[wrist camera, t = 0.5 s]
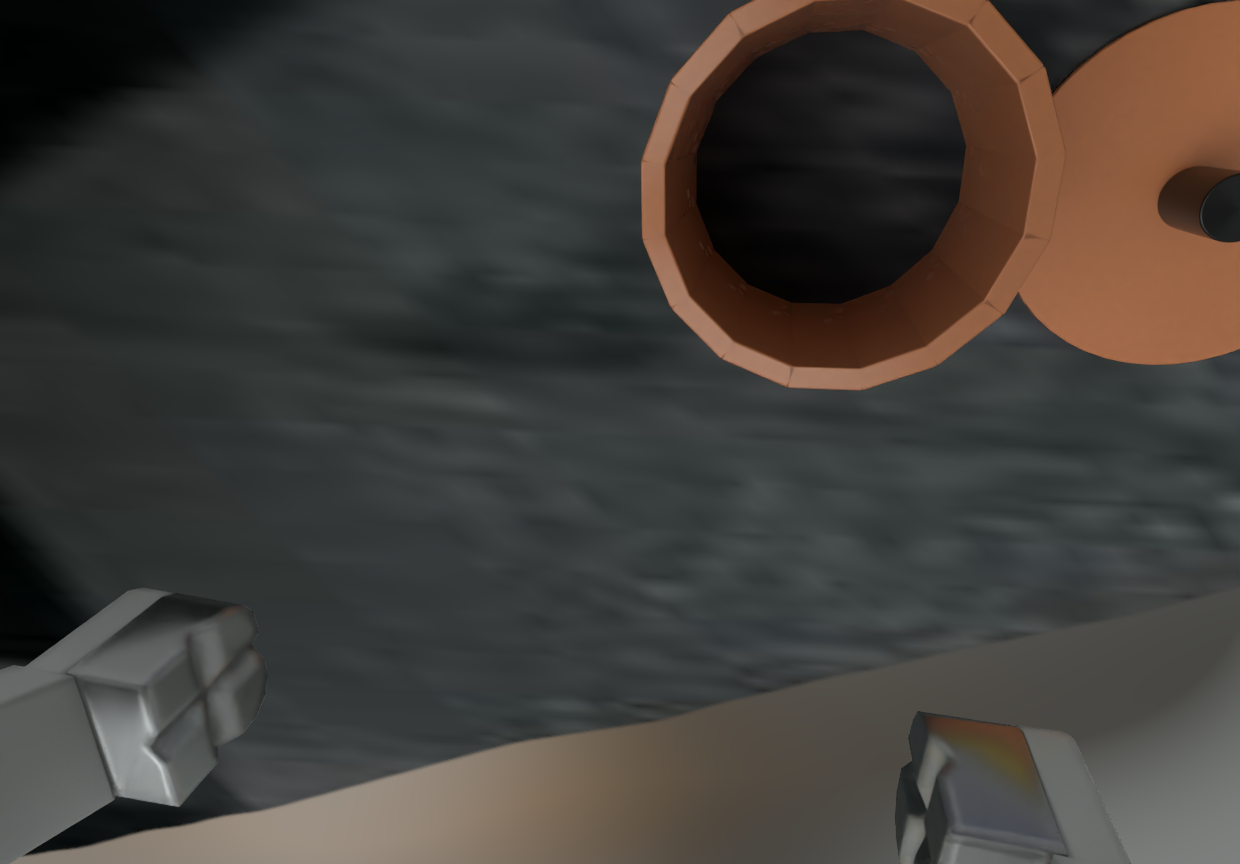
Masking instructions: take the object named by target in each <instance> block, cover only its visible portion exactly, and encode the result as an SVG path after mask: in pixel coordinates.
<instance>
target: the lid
mask: <svg viewBox="0 0 1240 864" xmlns="http://www.w3.org/2000/svg"><path fill="white" fill-rule="evenodd" d="M1052 96H1053V100H1054V104H1055V108H1056V112H1057V116H1058V120H1059V124H1060V128H1061V132H1062V137H1063V141H1064V145H1065V149H1066V152H1065V153H1066V158H1065V163H1064V169H1063V174H1062V180H1061V185H1060V191H1059V196H1058V202H1057V207H1056V213H1055V218H1054V224H1053V229H1052V235H1051V239H1050V242H1049V243H1048V245H1047V247H1046V248H1045V250H1044V251H1043V253H1042V255H1041V256H1040V258H1039V259H1038V261H1037V263H1036V264H1035V266H1034V267H1033V269H1032V271H1031V272H1030V274H1029V275H1028V277H1027V279H1026V280H1025V282H1024V283H1023V285H1022V287H1021V288H1020V290H1019V291H1018V294H1019V296H1020V298H1021V299H1022V301H1023V302H1024V303H1025V305H1026V306H1027V307H1028V309H1029V310H1030V311H1031V312H1032V314H1033V315H1034V316H1035V317H1036V318H1037V319H1038V320H1039V321H1040V322H1041V323H1043V324H1044V325H1045V326H1046V327H1047V328H1048V329H1049V330H1050V331H1052V332H1053V333H1055V334H1056V335H1057V336H1059V337H1060V338H1062V339H1063V340H1065V341H1066V342H1068V343H1070V344H1072V345H1074V346H1076V347H1078V348H1080V349H1082V350H1084V351H1086V352H1089V353H1092V354H1095V355H1097V356H1100V357H1103V358H1107V359H1111V360H1116V361H1121V362H1126V363H1135V364H1147V365H1159V364H1178V363H1185V362H1193V361H1199V360H1203V359H1207V358H1212V357H1216V356H1220V355H1224V354H1226V353H1229V352H1232V351H1235V350H1238V349H1240V0H1233V1H1225V2H1216V3H1209V4H1205V5H1201V6H1197V7H1193V8H1188V9H1184V10H1180V11H1177V12H1174V13H1172V14H1169V15H1166V16H1163V17H1161V18H1158V19H1155V20H1152V21H1150V22H1148V23H1146V24H1144V25H1142V26H1140V27H1138V28H1136V29H1134V30H1132V31H1130V32H1128V33H1126V34H1124V35H1123V36H1121V37H1119V38H1118V39H1116V40H1115V41H1113V42H1112V43H1110V44H1108V45H1107V46H1105V47H1104V48H1102V49H1101V50H1099V51H1098V52H1097V53H1095V54H1094V55H1093V56H1092V57H1090V58H1089V59H1088V60H1087V61H1085V62H1084V63H1083V64H1082V65H1080V66H1079V67H1078V68H1077V69H1076V70H1075V71H1074V72H1073V73H1072V74H1071V75H1070V76H1069V77H1068V78H1067V79H1066V80H1065V81H1064V82H1063V83H1062V84H1061V85H1060V86H1059V87H1058V88H1057V89H1056V90H1055V91H1054V93H1053V94H1052Z"/></svg>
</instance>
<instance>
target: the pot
mask: <svg viewBox="0 0 1240 864" xmlns="http://www.w3.org/2000/svg"><path fill="white" fill-rule="evenodd" d="M857 30H865V31H867V32H870V33H872V34H874V35H877V36H879V37H882V38H884V39H887V40H889V41H891V42H894V43H896V44H899V45H901V46H904V47H906V48H908V49H911V50H913V51H915V52H916V53H917V54H918V55H919V56H920V58H921V59H922V60H923V61H924V62H925V63H926V64H927V65H928V67H929V68H930V69H931V70H932V71H933V72H934V73H935V75H936V76H937V77H938V78H939V79H940V80H941V81H942V83H943V84H944V85H945V86H946V87H947V88H948V89H949V91H950V92H951V94H952V97H953V101H954V104H955V108H956V111H957V115H958V118H959V122H960V125H961V129H962V133H963V136H964V140H965V143H966V152H965V159H964V166H963V174H962V181H961V189H960V196H959V202H958V204H957V206H956V207H955V209H954V211H953V213H952V215H951V216H950V218H949V220H948V222H947V224H946V225H945V227H944V229H943V231H942V233H941V234H940V236H939V238H938V240H937V242H936V243H935V245H934V247H933V249H932V251H930V252H929V253H928V254H927V255H926V256H924V257H923V258H922V259H921V260H920V261H919V262H917V263H916V264H915V265H914V266H913V267H912V268H910V269H909V270H908V271H907V272H906V273H905V274H903V275H902V276H901V277H900V278H899V279H898V280H896V281H895V282H894V283H893V284H892V285H891V286H888V287H886V288H883V289H880V290H877V291H875V292H872V293H869V294H867V295H864V296H861V297H858V298H856V299H853V300H850V301H847V302H845V303H842V304H825V303H791V302H788V301H786V300H784V299H781V298H779V297H777V296H774V295H772V294H770V293H767V292H765V291H762V290H760V289H758V288H755V287H753V286H751V285H748V284H747V283H746V282H745V281H744V280H743V279H742V278H741V277H740V276H739V275H738V274H737V273H736V272H735V271H734V270H733V269H732V268H731V266H730V265H729V264H728V263H727V262H726V261H725V260H724V259H723V258H722V257H721V256H720V255H719V254H718V253H717V252H716V251H715V250H714V248H713V245H712V242H711V240H710V237H709V235H708V232H707V230H706V227H705V225H704V222H703V219H702V217H701V214H700V212H699V209H698V207H697V204H696V191H697V150H698V147H699V145H700V142H701V140H702V137H703V135H704V132H705V130H706V127H707V125H708V122H709V120H710V117H711V115H712V112H713V110H714V107H715V104H716V102H717V100H718V99H719V98H720V97H721V96H722V95H723V93H724V92H725V91H726V90H727V89H728V88H729V87H730V86H731V85H732V84H733V82H734V81H735V80H736V79H737V78H738V77H739V76H740V75H741V74H742V73H743V72H744V70H745V69H746V68H747V67H748V66H749V65H750V64H751V63H752V62H753V61H754V59H755V58H757V57H759V56H761V55H763V54H765V53H767V52H769V51H771V50H773V49H776V48H778V47H780V46H782V45H784V44H786V43H788V42H790V41H792V40H794V39H796V38H798V37H800V36H802V35H804V34H806V33H816V32H836V31H857ZM1065 152H1066V149H1065V145H1064V141H1063V137H1062V132H1061V128H1060V124H1059V120H1058V116H1057V112H1056V108H1055V104H1054V100H1053V96H1052V92H1051V88H1050V84H1049V80H1048V75H1047V71H1046V68H1045V67H1043V63H1042V62H1041V61H1040V60H1039V59H1038V57H1037V56H1036V55H1035V54H1034V53H1033V51H1032V50H1031V49H1030V48H1029V47H1028V46H1027V44H1026V43H1025V42H1024V41H1023V40H1022V39H1021V37H1020V36H1019V35H1018V34H1017V33H1016V31H1015V30H1014V29H1013V28H1012V27H1011V26H1010V24H1009V23H1008V22H1007V21H1006V20H1005V19H1004V17H1003V16H1002V15H1001V14H1000V13H999V11H998V10H997V9H996V8H995V7H994V6H993V4H992V3H991V2H990V1H989V0H753V1H751V2H749V3H747V4H745V5H743V6H741V7H739V8H737V9H735V10H733V11H731V12H730V14H728V15H727V16H726V17H725V18H724V19H723V20H722V21H721V23H720V24H719V25H718V26H717V27H716V28H715V29H714V31H713V32H712V33H711V34H710V35H709V36H708V38H707V39H706V40H705V41H704V42H703V43H702V44H701V46H700V47H699V48H698V49H697V50H696V51H695V53H694V54H693V55H692V56H691V57H690V58H689V59H688V61H687V62H686V63H685V64H684V65H683V66H682V67H681V69H680V70H679V71H678V72H677V73H676V74H675V76H674V77H673V78H672V79H671V82H670V83H669V85H668V88H667V91H666V94H665V96H664V99H663V102H662V104H661V107H660V110H659V113H658V115H657V118H656V121H655V124H654V126H653V129H652V132H651V135H650V137H649V140H648V143H647V145H646V148H645V151H644V154H643V156H642V160H643V161H641V200H642V239H643V243H644V245H645V247H646V250H647V252H648V255H649V257H650V259H651V262H652V264H653V267H654V269H655V271H656V274H657V276H658V279H659V281H660V283H661V286H662V288H663V291H664V293H665V295H666V298H667V300H668V303H669V305H670V307H672V310H673V311H674V312H675V313H676V314H677V315H678V316H679V317H680V318H681V319H682V320H683V321H684V322H685V323H686V324H687V325H688V326H689V327H690V328H691V329H692V330H693V331H694V332H695V333H696V334H697V335H698V336H699V337H700V338H701V339H702V340H703V341H704V342H705V343H706V344H707V345H708V346H709V347H710V348H711V349H712V350H713V351H714V352H715V353H716V354H717V355H718V356H719V357H720V358H722V359H723V360H725V361H727V362H730V363H732V364H734V365H737V366H739V367H741V368H744V369H746V370H748V371H751V372H753V373H755V374H758V375H760V376H762V377H764V378H767V379H769V380H771V381H774V382H776V383H778V384H781V385H783V386H786V387H787V386H788V387H789V388H809V389H836V390H862V389H863V390H865V389H868V388H871V387H874V386H877V385H880V384H883V383H886V382H889V381H892V380H895V379H898V378H902V377H905V376H908V375H911V374H914V373H917V372H920V371H923V370H926V369H929V368H932V367H935V366H937V364H940V363H942V362H943V361H944V360H946V359H947V358H948V357H949V356H951V355H952V354H953V353H955V352H956V351H957V350H958V349H960V348H961V347H962V346H964V345H965V344H966V343H967V342H969V341H970V340H971V339H973V338H974V337H975V336H976V335H978V334H979V333H980V332H982V331H983V330H984V329H985V328H987V327H988V326H989V325H991V324H992V323H993V322H994V321H996V320H997V319H998V318H1000V317H1001V316H1002V315H1003V314H1004V313H1005V312H1006V311H1007V309H1008V307H1009V306H1010V304H1011V303H1012V301H1013V299H1014V298H1015V296H1016V295H1017V293H1018V291H1019V290H1020V288H1021V287H1022V285H1023V283H1024V282H1025V280H1026V279H1027V277H1028V275H1029V274H1030V272H1031V271H1032V269H1033V267H1034V266H1035V264H1036V263H1037V261H1038V259H1039V258H1040V256H1041V255H1042V253H1043V251H1044V250H1045V248H1046V247H1047V245H1048V243H1049V242H1050V239H1051V235H1052V229H1053V224H1054V218H1055V213H1056V207H1057V202H1058V196H1059V191H1060V185H1061V180H1062V174H1063V169H1064V163H1065V158H1066V153H1065Z"/></svg>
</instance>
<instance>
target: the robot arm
mask: <svg viewBox="0 0 1240 864" xmlns="http://www.w3.org/2000/svg"><path fill="white" fill-rule="evenodd" d="M258 633H259V631H258V627H257V623H256V620H255V616H254V612H253V611H252V610H251V609H249V608H247V607H245V606H243V605H239V604H234V603H228V602H223V601H217V600H212V599H206V598H201V597H196V596H190V595H185V594H179V593H175V594H174V593H169V592H164V591H159V590H153V589H148V588H139V589H135V590H130V591H127V592H126V593H124V594H123V595H122V596H120V597H119V598H118V599H116V600H115V601H114V602H112V603H111V604H110V605H108V606H107V607H105V608H104V609H103V610H101V611H100V612H99V613H97V614H96V615H95V616H93V617H92V618H91V619H89V620H88V621H86V622H85V623H84V624H82V625H81V626H80V627H78V628H77V629H76V630H74V631H73V632H72V633H70V634H69V635H67V636H66V637H65V638H63V639H62V640H61V641H59V642H58V643H57V644H55V645H54V646H53V647H51V648H50V649H48V650H47V651H46V652H44V653H43V654H42V655H40V656H39V657H38V658H36V659H35V660H34V661H32V662H31V663H29V664H28V665H27V666H25V667H21V666H15V665H13V666H10V667H7V668H5V669H2V670H0V864H9V863H11V862H13V861H14V860H16V859H18V858H19V857H21V856H23V855H24V854H26V853H28V852H29V851H31V850H32V849H34V848H36V847H37V846H39V845H41V844H42V843H44V842H46V841H47V840H49V839H51V838H52V837H54V836H55V835H57V834H59V833H60V832H62V831H64V830H65V829H67V828H69V827H70V826H72V825H74V824H75V823H77V822H78V821H80V820H82V819H83V818H85V817H87V816H88V815H90V814H92V813H93V812H95V811H96V810H98V809H100V808H101V807H103V806H105V805H106V804H108V803H110V802H111V801H113V800H114V799H115V797H114V795H116V796H121V797H127V798H133V799H138V800H144V801H150V802H155V803H161V804H167V805H172V806H178V807H179V806H180V805H181V804H182V803H183V802H184V800H185V799H186V798H187V797H188V796H189V795H190V794H191V792H192V791H193V790H194V789H195V788H196V787H197V785H198V784H199V783H200V782H201V781H202V780H203V779H204V777H205V776H206V775H207V774H208V773H209V772H210V770H211V769H212V768H213V767H214V766H215V765H216V764H217V761H218V746H220V745H222V744H224V743H226V742H228V741H230V740H232V739H234V738H236V737H238V736H239V735H241V734H242V733H243V732H244V731H245V730H246V728H247V727H248V726H249V725H250V723H251V722H252V721H253V720H254V719H255V717H256V716H257V714H258V711H259V709H260V706H261V704H262V702H263V699H264V697H265V695H266V687H267V670H266V665H265V660H264V659H263V658H262V657H261V655H260V654H259V653H258V652H257V651H256V649H255V648H254V647H253V646H252V645H251V643H252V642H253V640H254V639H255V637H256V636H257V634H258ZM909 744H910V750H911V755H912V761H911V762H910V763H909V764H907V765H906V766H904V767H903V768H902V769H901V773H900V778H899V783H898V788H897V796H896V811H895V812H896V813H895V824H896V839H897V847H898V855H899V860H900V861H901V862H902V863H903V864H1131V862H1130V860H1129V858H1128V856H1127V853H1126V851H1125V849H1124V847H1123V845H1122V843H1121V840H1120V838H1119V836H1118V834H1117V832H1116V829H1115V827H1114V825H1113V823H1112V821H1111V818H1110V816H1109V814H1108V812H1107V810H1106V808H1105V805H1104V803H1103V801H1102V799H1101V796H1100V794H1099V792H1098V790H1097V788H1096V786H1095V783H1094V781H1093V779H1092V777H1091V775H1090V772H1089V770H1088V768H1087V766H1086V764H1085V761H1084V759H1083V757H1082V755H1081V753H1080V750H1079V748H1078V746H1077V744H1076V742H1075V740H1074V739H1073V738H1072V737H1071V736H1070V735H1069V734H1068V733H1067V732H1062V731H1056V730H1048V729H1040V728H1033V727H1027V726H1020V725H1016V726H1011V725H1007V724H1000V723H993V722H987V721H980V720H973V719H966V718H959V717H953V716H947V715H940V714H933V713H927V712H920V711H918V712H917V714H916V716H915V718H914V719H913V723H912V726H911V730H910V734H909Z"/></svg>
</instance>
